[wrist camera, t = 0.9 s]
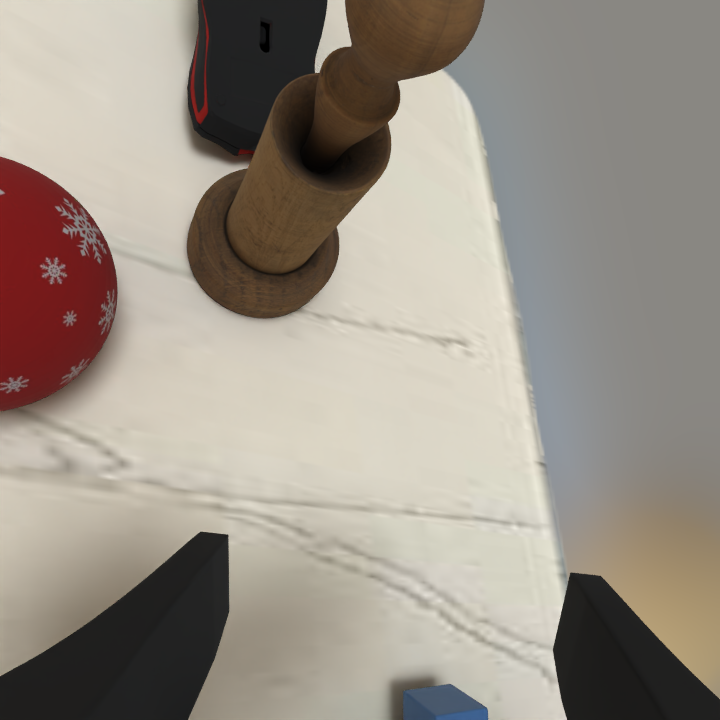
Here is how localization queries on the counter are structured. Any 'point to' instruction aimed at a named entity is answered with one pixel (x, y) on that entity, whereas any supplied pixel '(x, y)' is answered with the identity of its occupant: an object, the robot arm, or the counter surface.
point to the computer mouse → (248, 64)
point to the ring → (441, 704)
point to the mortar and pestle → (319, 158)
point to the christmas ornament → (48, 286)
